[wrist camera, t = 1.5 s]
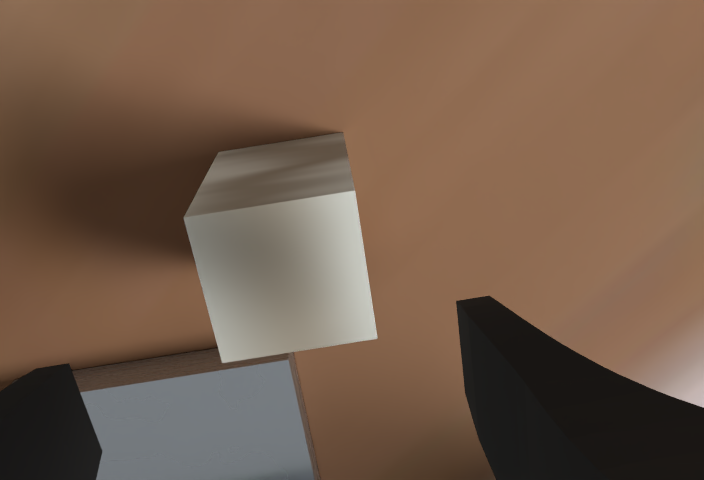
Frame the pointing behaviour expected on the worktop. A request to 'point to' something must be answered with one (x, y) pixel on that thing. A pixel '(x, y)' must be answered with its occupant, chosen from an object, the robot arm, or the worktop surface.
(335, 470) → the worktop surface
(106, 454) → the stepped stand
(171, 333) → the worktop surface
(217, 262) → the column block
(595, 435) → the robot arm
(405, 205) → the worktop surface
